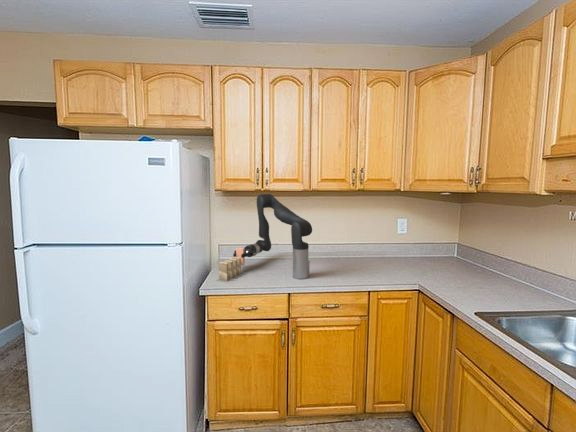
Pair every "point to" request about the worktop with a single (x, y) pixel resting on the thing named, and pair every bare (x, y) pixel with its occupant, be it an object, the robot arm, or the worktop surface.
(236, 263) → the maple domino
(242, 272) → the mat
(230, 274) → the maple domino
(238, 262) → the maple domino
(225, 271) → the maple domino
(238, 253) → the terracotta domino
